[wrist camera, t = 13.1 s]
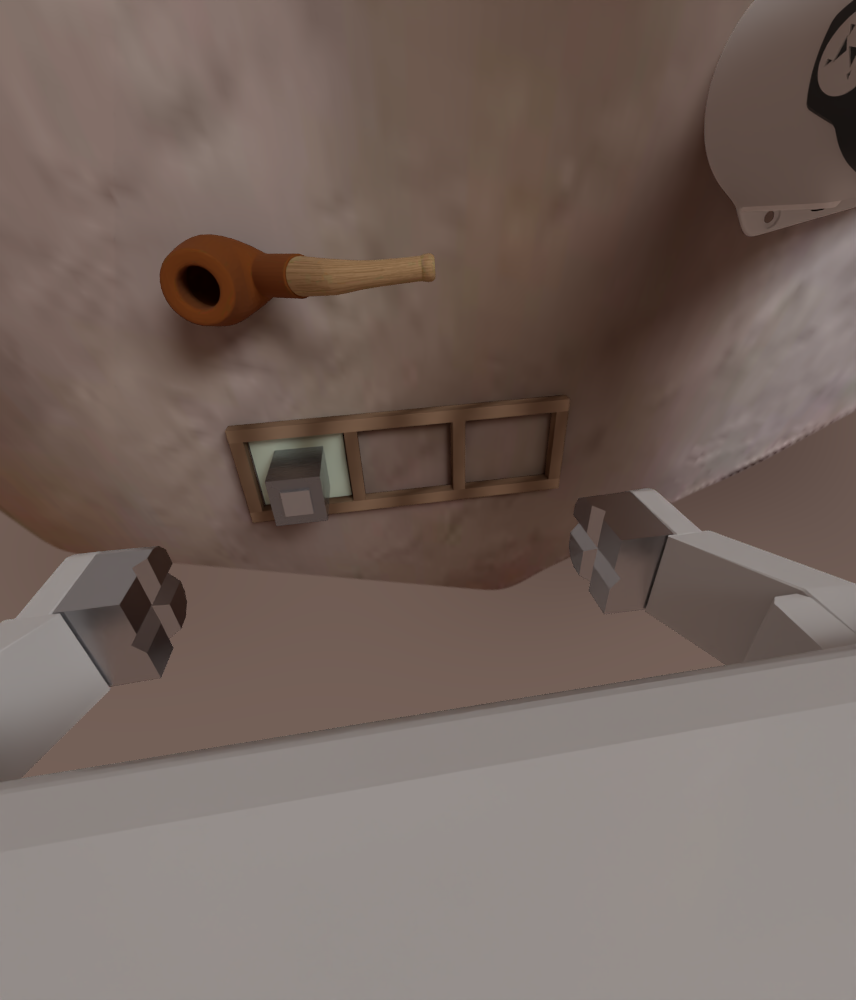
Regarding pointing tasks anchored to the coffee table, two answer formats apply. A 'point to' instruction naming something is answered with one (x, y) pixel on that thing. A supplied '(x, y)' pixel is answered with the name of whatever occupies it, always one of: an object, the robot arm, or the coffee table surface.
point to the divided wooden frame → (331, 428)
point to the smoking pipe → (267, 278)
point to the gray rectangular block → (298, 486)
